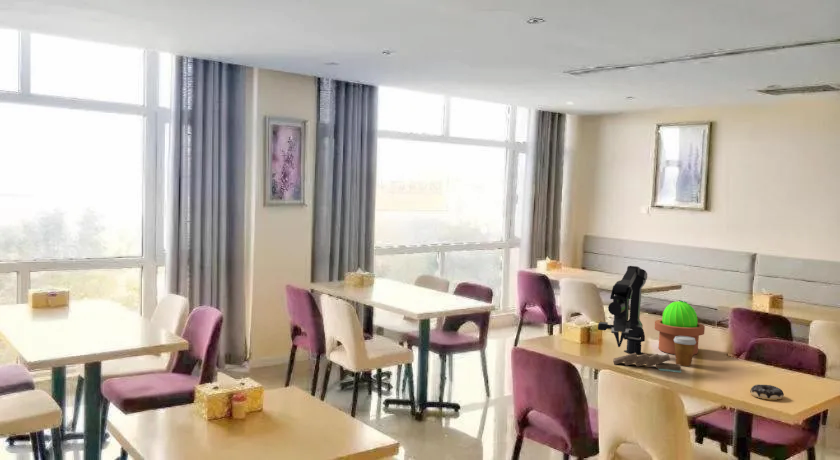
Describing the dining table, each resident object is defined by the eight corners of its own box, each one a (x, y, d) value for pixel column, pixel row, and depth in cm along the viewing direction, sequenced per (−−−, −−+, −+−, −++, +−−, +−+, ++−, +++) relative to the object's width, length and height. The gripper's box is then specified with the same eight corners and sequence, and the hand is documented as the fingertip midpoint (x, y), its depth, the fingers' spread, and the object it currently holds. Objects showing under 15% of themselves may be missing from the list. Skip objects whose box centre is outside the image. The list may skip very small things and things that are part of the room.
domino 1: (613, 361, 310) (635, 355, 307) (613, 358, 315) (635, 352, 312) (614, 364, 310) (637, 358, 307) (614, 362, 315) (637, 356, 312)
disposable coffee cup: (691, 362, 319) (692, 336, 318) (697, 367, 309) (699, 340, 308) (669, 361, 320) (671, 335, 319) (675, 366, 310) (676, 339, 309)
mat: (658, 370, 303) (658, 369, 303) (658, 365, 310) (658, 364, 310) (681, 372, 300) (681, 371, 300) (680, 368, 308) (680, 367, 308)
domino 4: (645, 363, 306) (668, 356, 303) (646, 361, 311) (668, 353, 307) (647, 367, 306) (670, 359, 303) (647, 364, 310) (669, 357, 307)
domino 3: (635, 363, 307) (657, 356, 304) (635, 360, 312) (657, 353, 309) (636, 367, 307) (659, 359, 304) (637, 364, 312) (659, 356, 309)
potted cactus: (670, 357, 327) (674, 304, 325) (645, 346, 348) (647, 296, 346) (712, 356, 332) (715, 303, 330) (684, 345, 353) (687, 296, 352)
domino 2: (624, 362, 308) (646, 355, 305) (624, 359, 313) (646, 353, 310) (625, 365, 308) (648, 359, 305) (625, 363, 313) (648, 356, 310)
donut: (788, 398, 268) (789, 388, 267) (772, 403, 261) (772, 393, 261) (760, 391, 277) (760, 381, 276) (743, 395, 270) (744, 385, 270)
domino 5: (656, 364, 304) (680, 367, 301) (656, 361, 309) (680, 364, 306) (655, 368, 305) (680, 370, 302) (655, 365, 309) (680, 368, 306)
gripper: (598, 313, 305) (596, 348, 306) (643, 317, 300) (641, 353, 301) (599, 309, 316) (597, 343, 317) (643, 312, 310) (641, 347, 311)
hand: (619, 346), depth 311 cm, fingers closed
